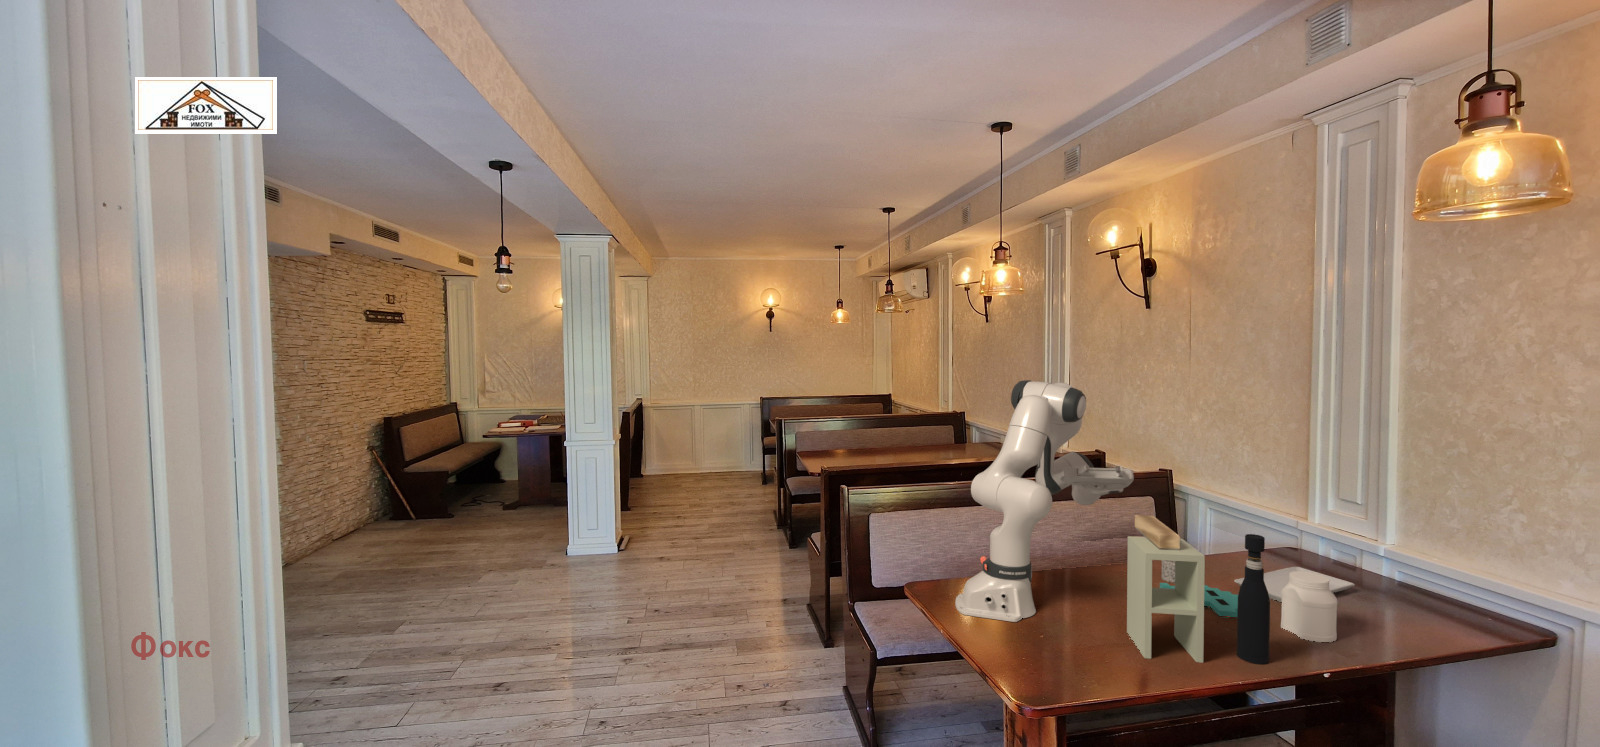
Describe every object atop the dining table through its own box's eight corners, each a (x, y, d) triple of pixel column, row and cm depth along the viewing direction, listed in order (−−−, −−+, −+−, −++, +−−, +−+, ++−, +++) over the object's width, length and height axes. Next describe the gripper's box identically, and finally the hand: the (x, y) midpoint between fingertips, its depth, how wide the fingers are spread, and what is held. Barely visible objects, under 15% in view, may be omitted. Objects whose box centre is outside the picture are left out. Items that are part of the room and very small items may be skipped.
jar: (1345, 642, 162) (1346, 584, 162) (1309, 643, 162) (1310, 585, 161) (1306, 622, 174) (1307, 568, 173) (1273, 624, 173) (1274, 569, 173)
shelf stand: (1144, 658, 155) (1145, 553, 154) (1126, 632, 169) (1127, 536, 168) (1203, 662, 153) (1204, 556, 152) (1180, 636, 167) (1181, 538, 165)
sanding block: (1159, 549, 157) (1159, 535, 157) (1134, 527, 175) (1134, 514, 175) (1179, 550, 156) (1179, 535, 156) (1152, 528, 175) (1152, 515, 174)
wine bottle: (1230, 652, 158) (1232, 532, 156) (1254, 651, 158) (1256, 531, 157) (1250, 665, 151) (1252, 540, 150) (1275, 663, 152) (1278, 539, 151)
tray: (1356, 594, 194) (1357, 582, 194) (1291, 611, 182) (1291, 599, 182) (1296, 575, 209) (1296, 565, 209) (1231, 590, 198) (1232, 579, 197)
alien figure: (1184, 616, 180) (1264, 621, 176) (1184, 608, 180) (1264, 613, 176) (1159, 589, 200) (1230, 593, 196) (1159, 582, 199) (1230, 586, 195)
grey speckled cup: (1187, 584, 202) (1187, 564, 202) (1163, 582, 204) (1163, 561, 204) (1180, 574, 211) (1181, 554, 211) (1158, 571, 214) (1158, 552, 214)
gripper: (1058, 472, 212) (1066, 457, 200) (1124, 473, 208) (1136, 459, 196) (1060, 490, 209) (1068, 476, 197) (1127, 492, 205) (1140, 478, 193)
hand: (1103, 468), depth 197 cm, fingers open, 8 cm apart
